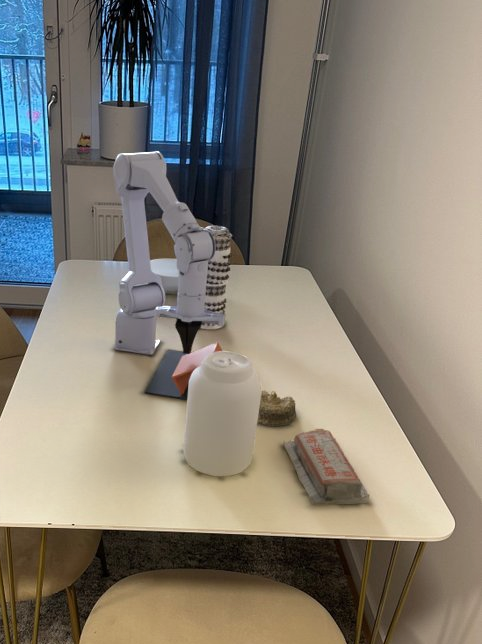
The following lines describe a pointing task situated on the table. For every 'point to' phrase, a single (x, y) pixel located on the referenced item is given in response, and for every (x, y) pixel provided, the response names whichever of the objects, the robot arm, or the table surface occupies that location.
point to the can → (222, 414)
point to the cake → (276, 410)
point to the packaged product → (325, 469)
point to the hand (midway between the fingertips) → (187, 351)
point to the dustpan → (191, 365)
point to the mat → (167, 377)
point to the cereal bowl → (166, 273)
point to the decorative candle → (217, 273)
